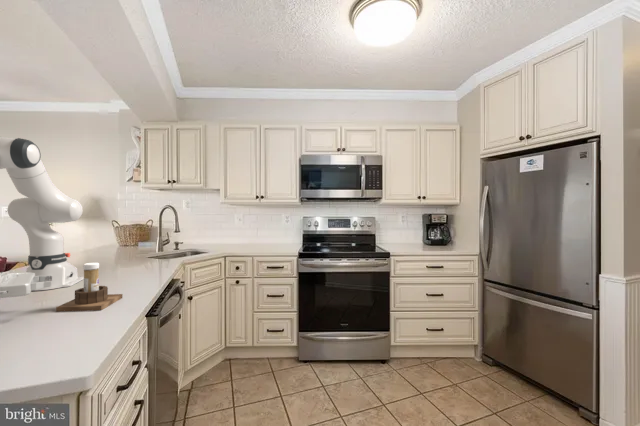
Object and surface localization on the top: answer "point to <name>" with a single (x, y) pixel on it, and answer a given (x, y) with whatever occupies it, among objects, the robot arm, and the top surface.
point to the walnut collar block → (90, 300)
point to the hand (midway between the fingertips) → (51, 280)
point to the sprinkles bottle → (91, 277)
